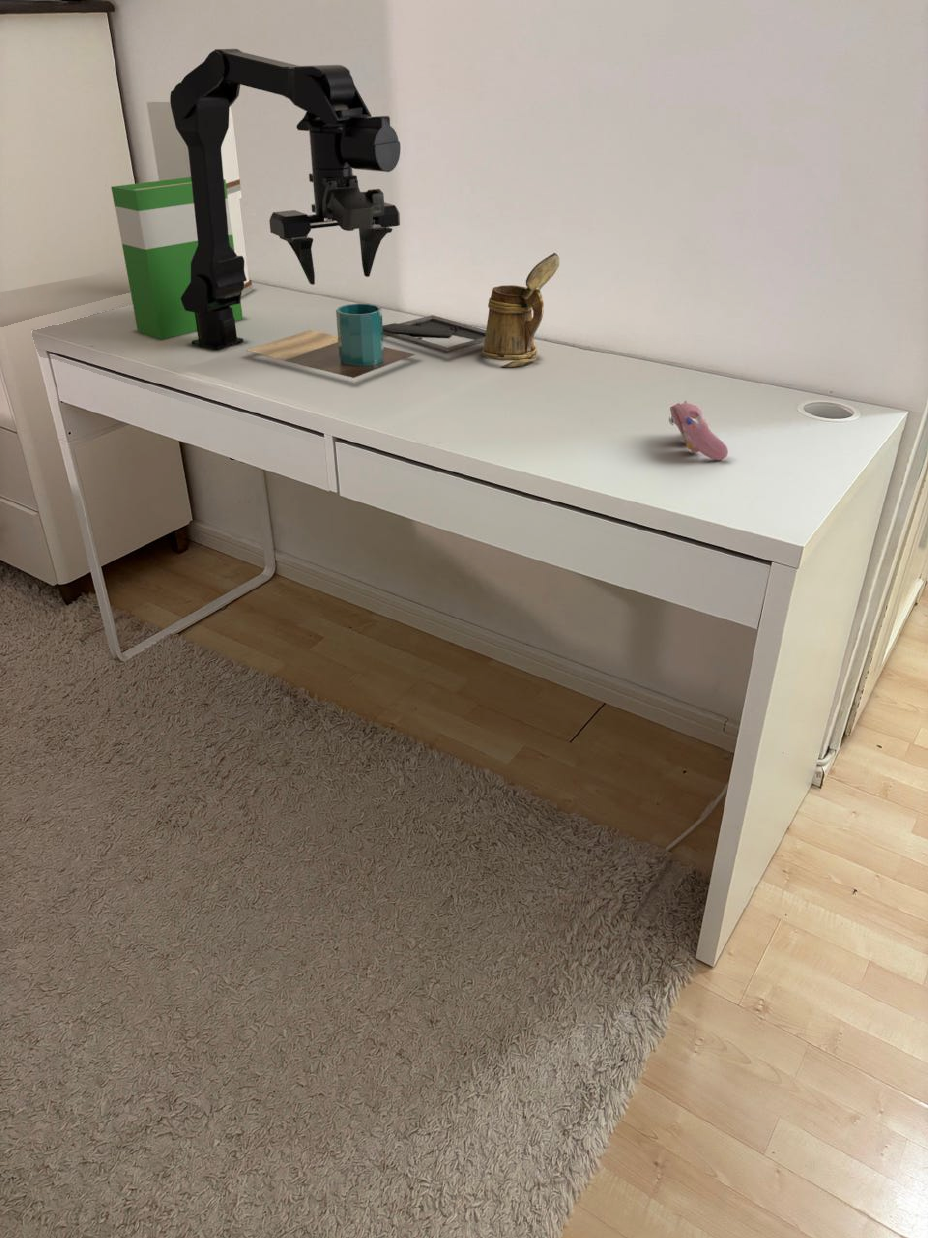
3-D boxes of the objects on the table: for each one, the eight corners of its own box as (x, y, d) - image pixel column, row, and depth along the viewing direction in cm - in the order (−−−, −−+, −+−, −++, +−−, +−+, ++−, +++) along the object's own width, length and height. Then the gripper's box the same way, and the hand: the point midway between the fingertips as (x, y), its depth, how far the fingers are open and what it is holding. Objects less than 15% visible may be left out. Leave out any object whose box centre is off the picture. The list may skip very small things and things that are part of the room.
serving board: (246, 357, 158) (245, 350, 157) (310, 336, 168) (309, 329, 167) (354, 385, 146) (353, 377, 145) (415, 361, 156) (415, 353, 155)
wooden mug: (531, 377, 148) (535, 257, 139) (470, 359, 157) (470, 244, 147) (567, 365, 154) (574, 248, 144) (507, 347, 162) (509, 236, 152)
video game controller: (677, 445, 129) (659, 401, 125) (708, 429, 128) (691, 385, 125) (698, 474, 121) (679, 428, 117) (732, 458, 120) (714, 411, 116)
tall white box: (252, 290, 197) (230, 98, 178) (230, 302, 188) (204, 102, 169) (202, 287, 199) (174, 97, 180) (177, 299, 190) (146, 101, 172)
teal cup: (331, 361, 152) (327, 310, 148) (360, 350, 157) (357, 301, 152) (363, 368, 148) (360, 317, 144) (392, 358, 153) (390, 307, 149)
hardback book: (219, 312, 182) (200, 175, 169) (242, 319, 178) (225, 179, 165) (137, 331, 171) (111, 186, 158) (160, 339, 167) (135, 191, 154)
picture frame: (376, 338, 167) (446, 360, 156) (376, 326, 166) (446, 347, 155) (432, 323, 175) (502, 343, 164) (432, 312, 174) (503, 332, 163)
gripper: (295, 178, 125) (305, 299, 134) (417, 168, 134) (420, 282, 142) (262, 169, 133) (274, 284, 142) (379, 159, 142) (384, 268, 150)
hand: (340, 280), depth 144 cm, fingers open, 9 cm apart
